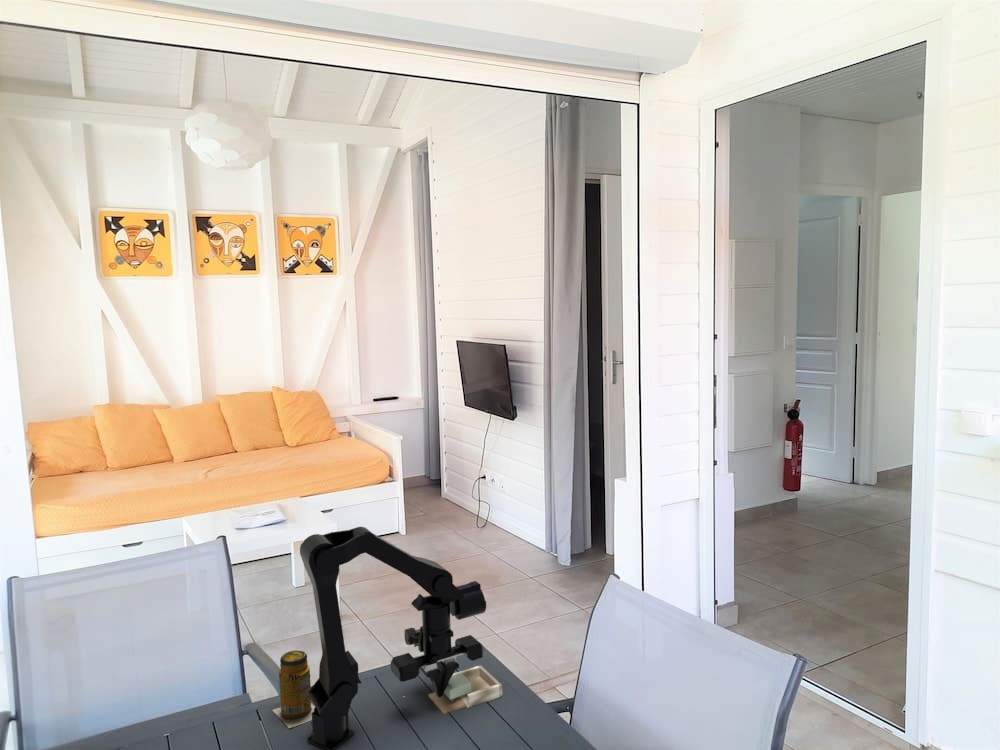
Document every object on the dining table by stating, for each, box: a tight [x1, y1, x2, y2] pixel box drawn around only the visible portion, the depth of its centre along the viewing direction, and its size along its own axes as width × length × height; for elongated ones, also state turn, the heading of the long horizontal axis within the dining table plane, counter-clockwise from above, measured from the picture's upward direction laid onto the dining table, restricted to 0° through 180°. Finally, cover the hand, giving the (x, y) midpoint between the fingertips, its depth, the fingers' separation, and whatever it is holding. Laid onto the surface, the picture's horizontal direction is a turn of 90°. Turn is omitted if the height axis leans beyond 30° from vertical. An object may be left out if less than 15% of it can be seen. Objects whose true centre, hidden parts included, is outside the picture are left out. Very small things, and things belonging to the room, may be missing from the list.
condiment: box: [272, 650, 315, 729], centre depth 147 cm, size 7×8×12 cm
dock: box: [427, 664, 503, 714], centre depth 153 cm, size 13×10×3 cm
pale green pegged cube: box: [443, 673, 472, 703], centre depth 152 cm, size 5×5×4 cm
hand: (439, 696), depth 150 cm, fingers closed
